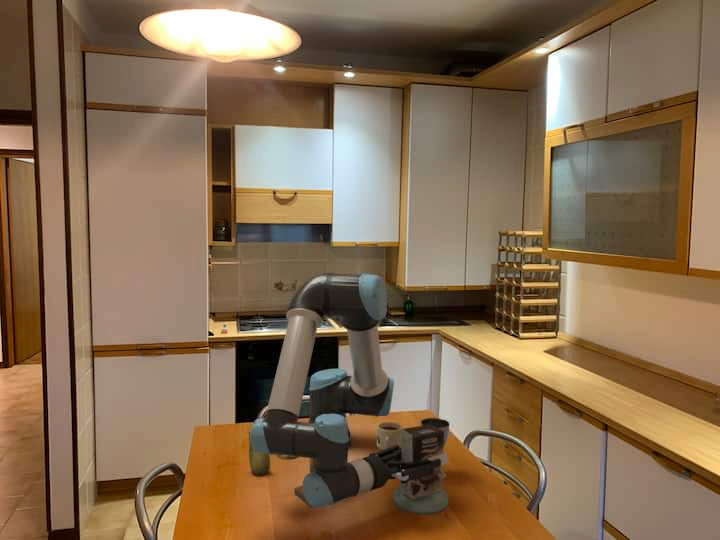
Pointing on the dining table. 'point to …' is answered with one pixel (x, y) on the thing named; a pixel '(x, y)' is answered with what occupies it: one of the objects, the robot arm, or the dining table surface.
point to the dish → (421, 502)
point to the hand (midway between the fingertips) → (436, 452)
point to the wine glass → (441, 425)
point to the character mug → (389, 435)
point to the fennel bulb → (258, 461)
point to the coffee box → (422, 458)
